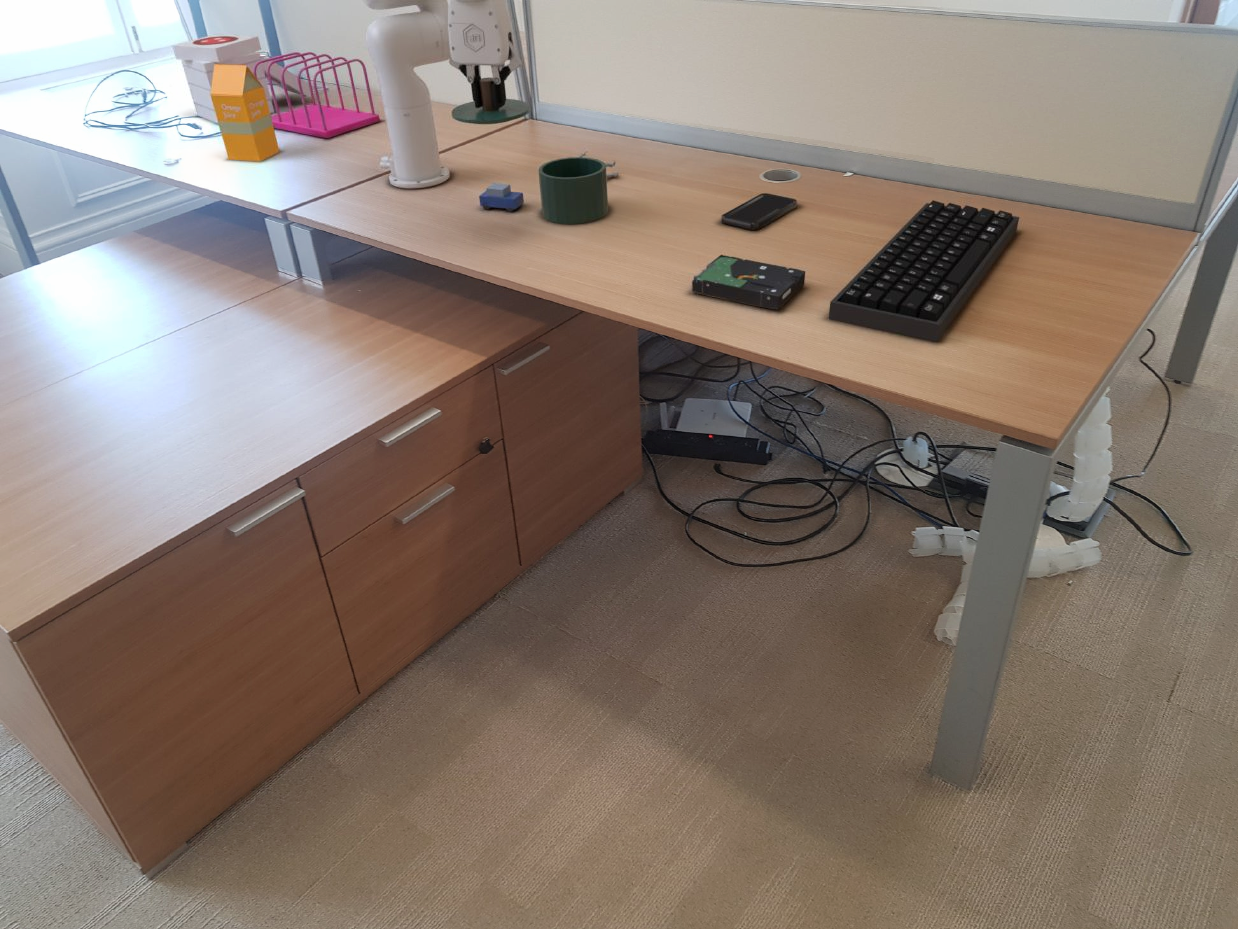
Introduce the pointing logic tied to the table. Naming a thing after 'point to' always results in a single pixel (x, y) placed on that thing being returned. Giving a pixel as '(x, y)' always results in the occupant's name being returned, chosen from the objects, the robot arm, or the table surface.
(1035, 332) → the table surface
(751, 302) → the disk drive
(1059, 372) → the table surface
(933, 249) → the computer keyboard
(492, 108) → the lid
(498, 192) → the toy car
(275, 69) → the pizza boxes
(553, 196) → the tin
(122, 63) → the table surface
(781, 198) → the phone
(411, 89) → the robot arm
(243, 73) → the orange juice
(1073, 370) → the table surface
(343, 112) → the file sorter
